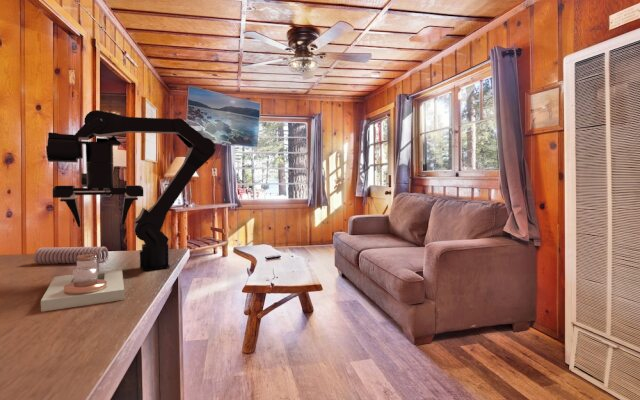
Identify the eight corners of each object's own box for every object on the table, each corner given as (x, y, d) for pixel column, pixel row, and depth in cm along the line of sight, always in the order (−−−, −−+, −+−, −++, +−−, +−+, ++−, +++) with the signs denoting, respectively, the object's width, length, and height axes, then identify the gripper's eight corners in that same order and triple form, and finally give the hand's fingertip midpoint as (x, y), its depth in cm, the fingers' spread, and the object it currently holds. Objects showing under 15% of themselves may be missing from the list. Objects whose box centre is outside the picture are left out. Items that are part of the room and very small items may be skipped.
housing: (122, 277, 85) (121, 269, 85) (124, 299, 69) (124, 289, 69) (55, 285, 78) (54, 276, 78) (41, 311, 63) (40, 300, 63)
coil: (31, 250, 96) (101, 249, 98) (42, 245, 101) (109, 244, 103) (33, 266, 97) (102, 265, 99) (44, 261, 101) (110, 259, 103)
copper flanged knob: (106, 282, 74) (106, 263, 74) (106, 291, 68) (105, 270, 68) (66, 287, 71) (65, 267, 70) (61, 297, 65) (61, 275, 64)
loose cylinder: (99, 283, 80) (98, 253, 80) (99, 288, 77) (98, 256, 76) (78, 286, 78) (77, 254, 78) (76, 291, 74) (75, 258, 74)
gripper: (139, 165, 99) (141, 220, 100) (57, 163, 89) (59, 224, 90) (142, 163, 89) (144, 225, 90) (51, 161, 80) (53, 229, 81)
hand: (101, 225), depth 88 cm, fingers open, 9 cm apart
